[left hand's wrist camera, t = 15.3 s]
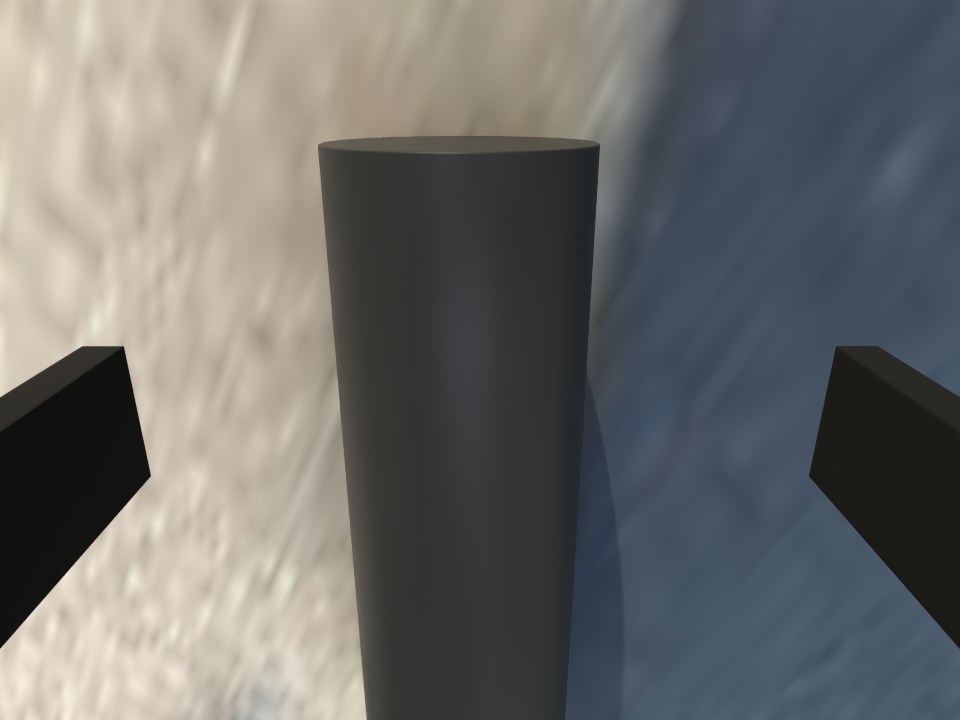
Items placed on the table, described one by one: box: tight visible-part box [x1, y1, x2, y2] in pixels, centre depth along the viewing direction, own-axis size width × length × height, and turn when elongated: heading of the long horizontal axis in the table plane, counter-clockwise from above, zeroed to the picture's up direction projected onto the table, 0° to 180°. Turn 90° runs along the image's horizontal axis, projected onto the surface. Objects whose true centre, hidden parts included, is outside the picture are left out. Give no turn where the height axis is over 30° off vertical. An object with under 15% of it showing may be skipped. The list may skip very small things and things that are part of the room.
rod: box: [318, 136, 600, 720], centre depth 25 cm, size 26×9×9 cm, turn 0°
